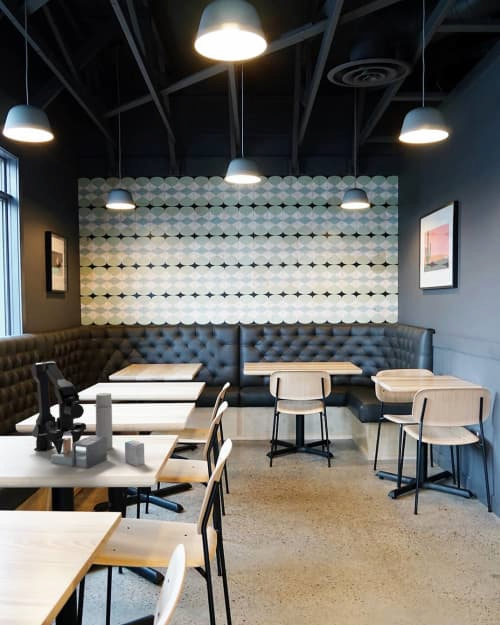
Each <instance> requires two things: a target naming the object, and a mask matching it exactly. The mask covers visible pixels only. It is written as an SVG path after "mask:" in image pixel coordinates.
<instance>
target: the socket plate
mask: <svg viewBox="0 0 500 625" xmlns="http://www.w3.org/2000/svg"><path fill="white" fill-rule="evenodd" d="M50 462H51V463H53V464H60V465H61V464H62V465H68V466H72V448H71V454H69V455H64V454H63V450H61V454H58V453H57V452H56V453H52V454H51V455H50ZM75 467H82V468H83V467H84V468H86V450H82V449H76V466H75Z"/></svg>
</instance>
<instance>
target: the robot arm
mask: <svg viewBox="0 0 500 625" xmlns="http://www.w3.org/2000/svg"><path fill="white" fill-rule="evenodd" d="M30 370H31V371H30V372H31V374H32V378H33V379H34V381H35V382H36V385H37V396H38V397H37V400H38V415H37V418H36V419H35V425H34V428H33V429H32V436H33V437H34V438H36V440H35V446H36V447H35V448H33V450H34V451H41V452H47V451H49V450H51V449H54V448H55V450H56V453H58V454H61V451H63V440H64V435H65V434H68V433H70V434H71V443H74V442H77V441H79V440H81V437H82V435H83V433H84V432H85V431H86V430H87V425H86V423H85V422H80V421H79V422H74V421H75V419H80V418H81V417H83V415H84V412H85V408H84V406H83V405H81V404H80V395H79V394H78V391H77V388H76V386H74V384H73V383H72V382H71V381H68V380H66V379H65V377H64V375H63V374H62V372H61V371H60V370H59V368H58V365H57V363H56V362H55V361H54V360H53V361H44V362H36V363H34V364H32V366H31V368H30ZM49 381H51V382H52V384H53V386H54V387H55V390H54V394H55V396H56V398H57V404H58V417H55V416H54V415H53V414H52V412H51V402H50V401H51V400H50V398H51V397H50V387H49Z"/></svg>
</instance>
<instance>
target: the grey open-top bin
mask: <svg viewBox="0 0 500 625" xmlns="http://www.w3.org/2000/svg"><path fill="white" fill-rule="evenodd" d="M77 447H80V448H85V451H86V467H85V468H86V469H91V468H93V467H94V466H97V465H99V464H101V463H103V462H105V461H107V460H108V450H107V437H98V436H96V435H89V436H87V437H84V438H81V439H79V441H77V442H74V443H73V442H71V449H72V465H71V466H72V467H77V466H76V450H77Z"/></svg>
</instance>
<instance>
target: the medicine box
mask: <svg viewBox="0 0 500 625" xmlns="http://www.w3.org/2000/svg"><path fill="white" fill-rule="evenodd" d="M124 458H125V463H126V464H129V465H133V466H135V467H138V466H142V465H144V464H145V444H144V443H143V442H140V441H137V440H134V439H133V440H128V441H125V442H124Z"/></svg>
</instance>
